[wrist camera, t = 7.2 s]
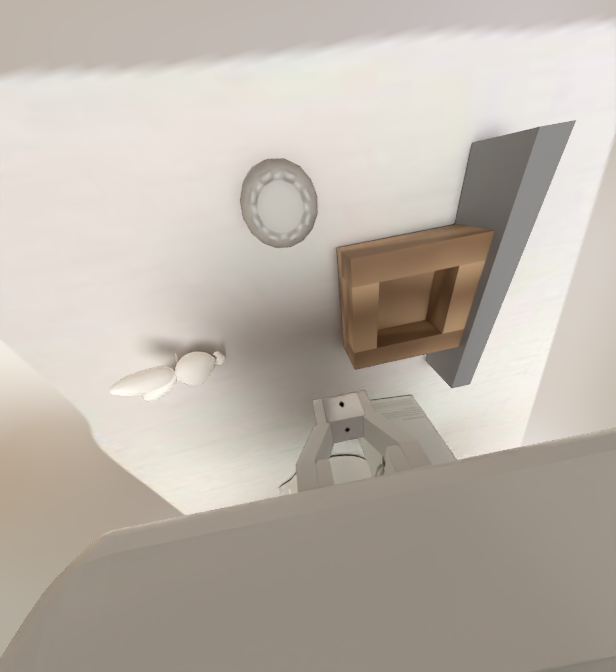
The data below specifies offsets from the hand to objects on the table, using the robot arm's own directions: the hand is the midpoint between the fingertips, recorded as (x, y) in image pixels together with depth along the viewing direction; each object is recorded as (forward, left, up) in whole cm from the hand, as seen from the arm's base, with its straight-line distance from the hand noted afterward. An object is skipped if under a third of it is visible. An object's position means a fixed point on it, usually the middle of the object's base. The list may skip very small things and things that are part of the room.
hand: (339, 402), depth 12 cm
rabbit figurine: (-1, +13, -10) cm, 17 cm away
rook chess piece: (+10, +1, -10) cm, 14 cm away
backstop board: (+1, -14, -10) cm, 17 cm away
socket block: (+1, -8, -10) cm, 13 cm away
